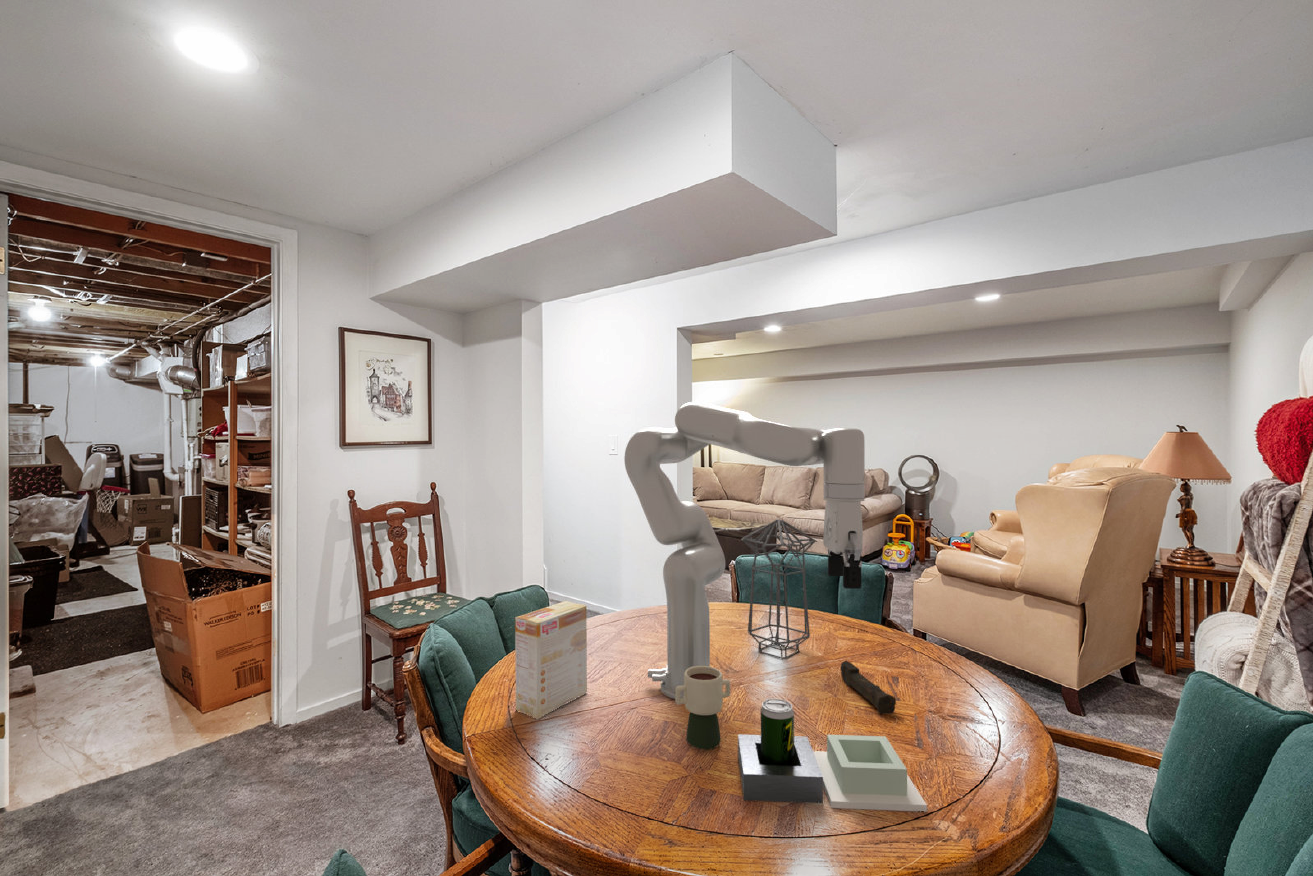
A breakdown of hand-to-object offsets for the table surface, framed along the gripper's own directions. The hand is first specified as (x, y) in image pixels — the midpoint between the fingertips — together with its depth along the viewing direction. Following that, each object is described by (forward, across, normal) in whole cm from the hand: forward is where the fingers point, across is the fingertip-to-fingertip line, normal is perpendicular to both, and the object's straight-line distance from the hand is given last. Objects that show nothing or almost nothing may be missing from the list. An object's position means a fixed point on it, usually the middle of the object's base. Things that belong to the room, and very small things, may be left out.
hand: (843, 581), depth 108 cm
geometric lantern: (+29, -43, -4) cm, 52 cm away
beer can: (+29, +16, -16) cm, 36 cm away
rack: (+28, +17, -2) cm, 33 cm away
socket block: (+28, +16, -16) cm, 36 cm away
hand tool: (+29, -16, +9) cm, 34 cm away
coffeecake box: (+29, -11, -58) cm, 66 cm away
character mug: (+29, +5, -27) cm, 40 cm away
